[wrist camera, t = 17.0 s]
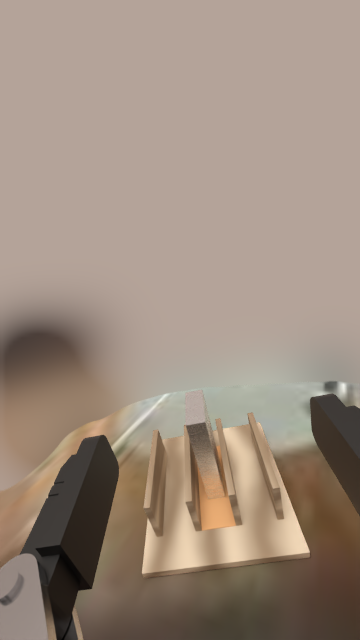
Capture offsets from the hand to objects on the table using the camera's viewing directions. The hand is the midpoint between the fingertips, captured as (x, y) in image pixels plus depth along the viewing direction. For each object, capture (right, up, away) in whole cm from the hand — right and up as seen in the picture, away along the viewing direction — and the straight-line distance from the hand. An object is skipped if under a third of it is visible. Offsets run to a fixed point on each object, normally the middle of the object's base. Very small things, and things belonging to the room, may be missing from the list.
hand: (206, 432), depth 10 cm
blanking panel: (+4, -19, +28) cm, 35 cm away
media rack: (+4, -21, +28) cm, 35 cm away
